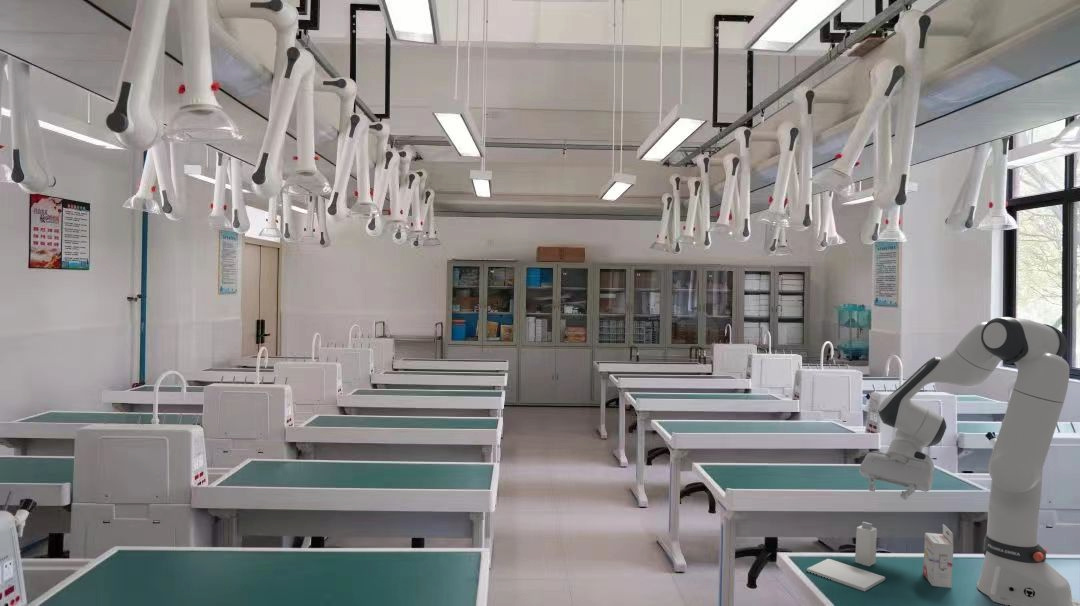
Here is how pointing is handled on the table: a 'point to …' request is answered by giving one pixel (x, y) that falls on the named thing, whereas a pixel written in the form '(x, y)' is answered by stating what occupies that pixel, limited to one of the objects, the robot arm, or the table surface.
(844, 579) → the white spiral notebook
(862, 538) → the white tall rectangular block
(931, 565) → the ink cartridge box
